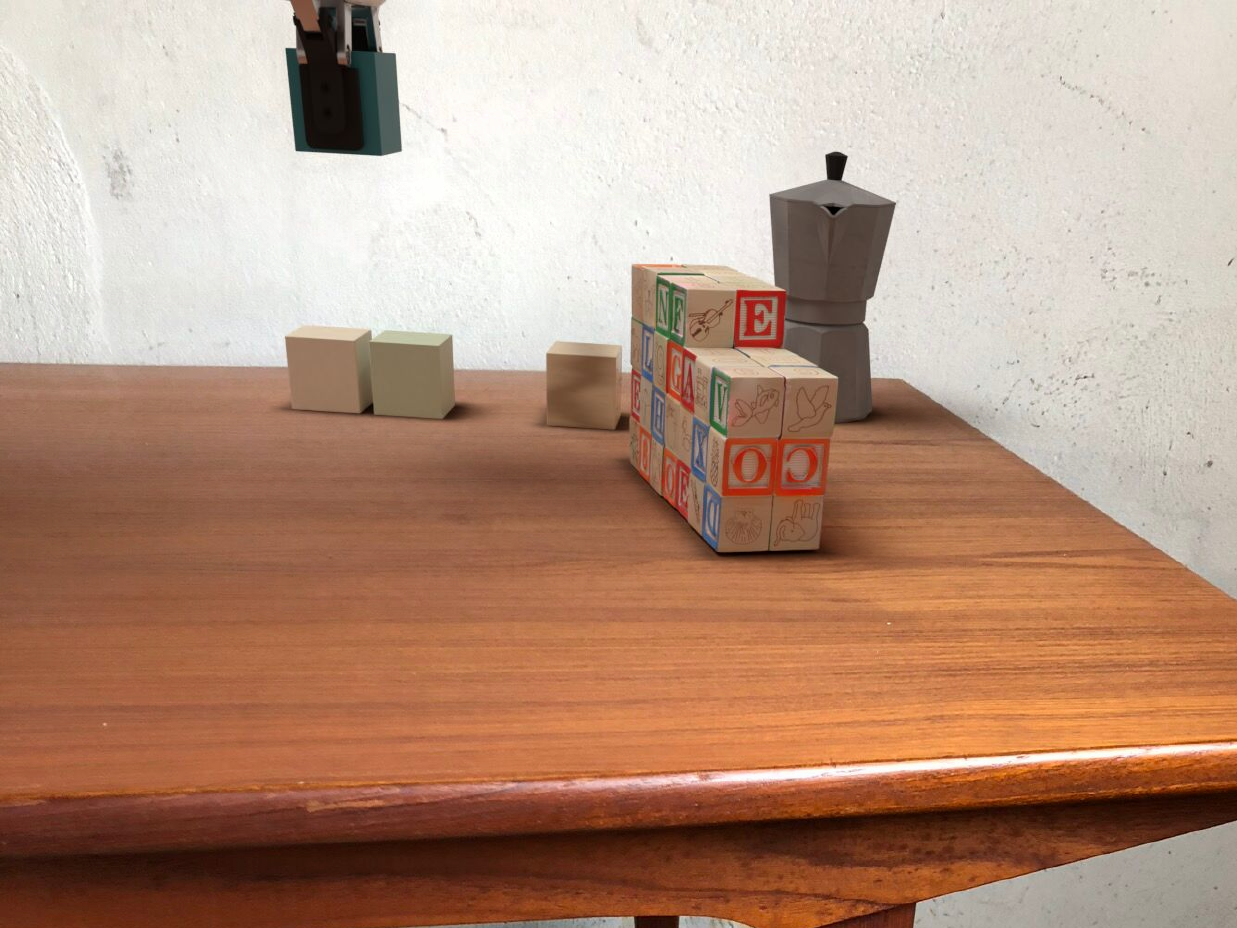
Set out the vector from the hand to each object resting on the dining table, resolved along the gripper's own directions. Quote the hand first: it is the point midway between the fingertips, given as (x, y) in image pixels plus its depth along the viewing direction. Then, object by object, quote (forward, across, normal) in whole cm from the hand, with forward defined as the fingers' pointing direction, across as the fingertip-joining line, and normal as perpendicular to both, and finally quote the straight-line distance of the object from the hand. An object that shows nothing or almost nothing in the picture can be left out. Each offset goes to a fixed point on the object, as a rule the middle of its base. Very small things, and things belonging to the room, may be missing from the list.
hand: (348, 143), depth 82 cm
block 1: (+18, -14, -7) cm, 24 cm away
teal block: (0, 0, 0) cm, 0 cm away
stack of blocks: (+18, +6, +23) cm, 30 cm away
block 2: (+18, -14, -1) cm, 23 cm away
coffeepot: (+18, -25, +29) cm, 43 cm away
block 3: (+18, -15, +12) cm, 26 cm away
